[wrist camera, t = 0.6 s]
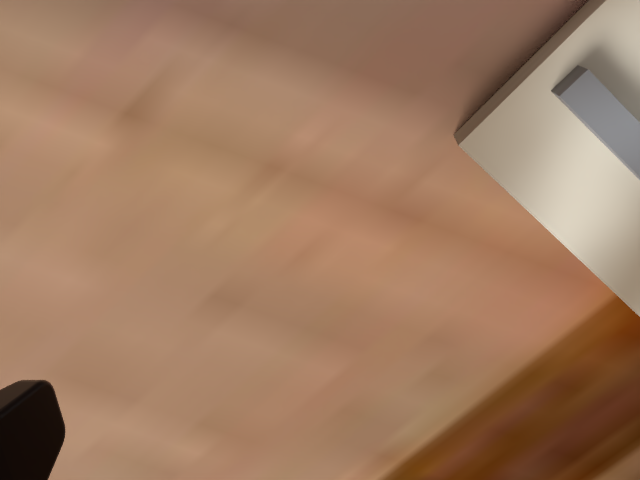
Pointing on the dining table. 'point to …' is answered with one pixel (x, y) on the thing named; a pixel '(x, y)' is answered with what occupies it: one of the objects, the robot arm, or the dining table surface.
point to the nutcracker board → (575, 140)
